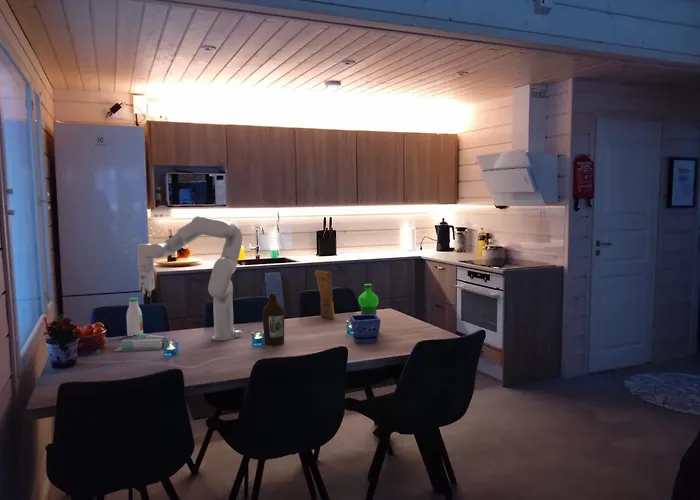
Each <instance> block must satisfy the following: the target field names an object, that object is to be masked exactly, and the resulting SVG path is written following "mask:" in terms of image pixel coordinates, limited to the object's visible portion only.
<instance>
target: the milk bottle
mask: <svg viewBox="0 0 700 500" xmlns="http://www.w3.org/2000/svg"><path fill="white" fill-rule="evenodd" d="M128 303H129V305H128V308H127V311H126V333H127V334H126V335H127V336H128V337H129V336H132V337H134V336H133V335H136V336H138V334H142V333H143V334H144V327H143V325H144V324H143V313H142V310H141V308H140V306H139V298H138V297H130V298H128Z"/></svg>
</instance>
